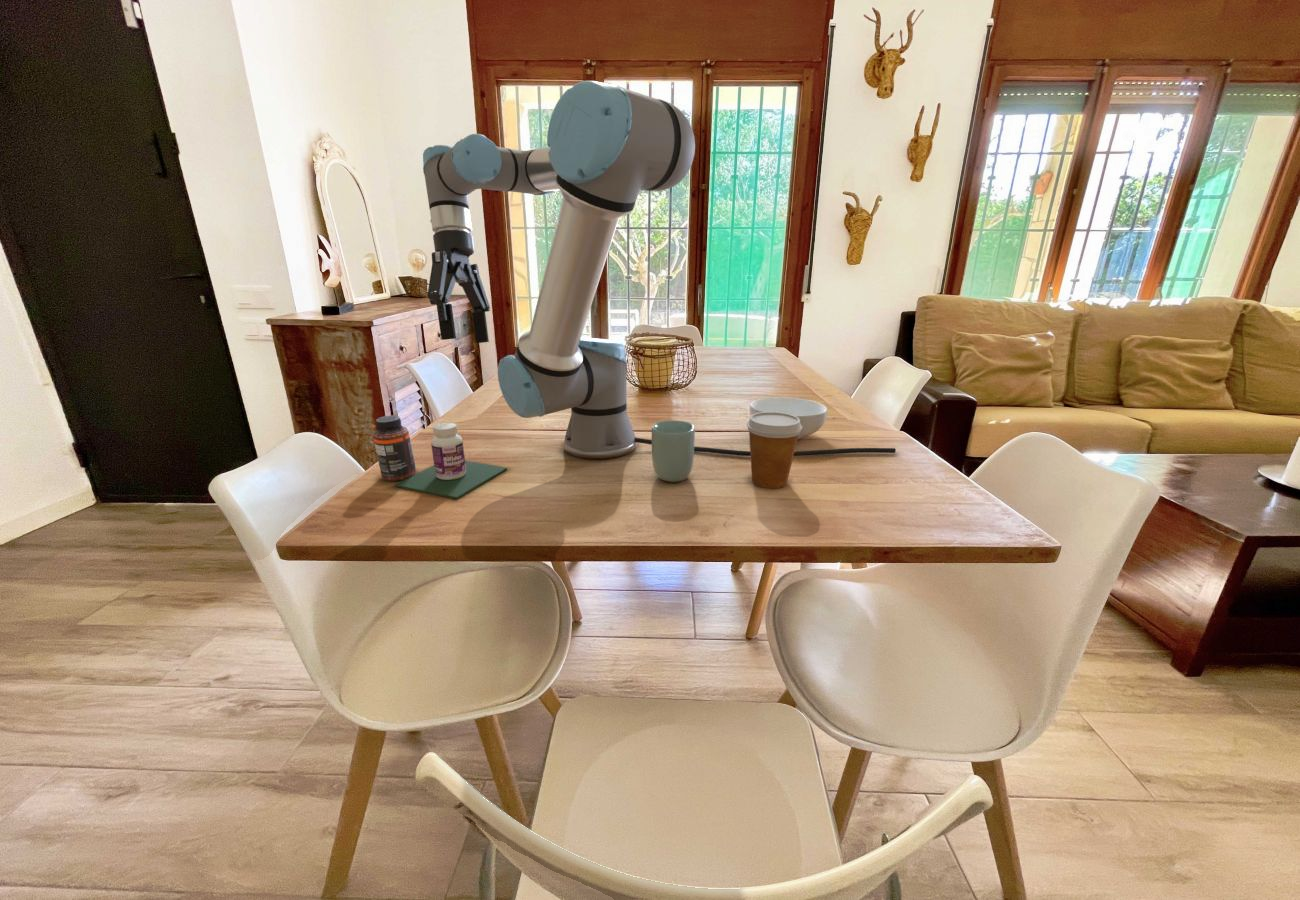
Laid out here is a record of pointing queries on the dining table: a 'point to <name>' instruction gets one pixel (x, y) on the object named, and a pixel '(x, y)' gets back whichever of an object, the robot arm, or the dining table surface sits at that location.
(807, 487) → the dining table surface
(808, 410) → the cereal bowl
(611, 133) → the robot arm
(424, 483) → the green mat
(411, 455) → the supplement bottle
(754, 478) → the disposable coffee cup
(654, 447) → the cup
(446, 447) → the pill bottle
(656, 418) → the dining table surface
